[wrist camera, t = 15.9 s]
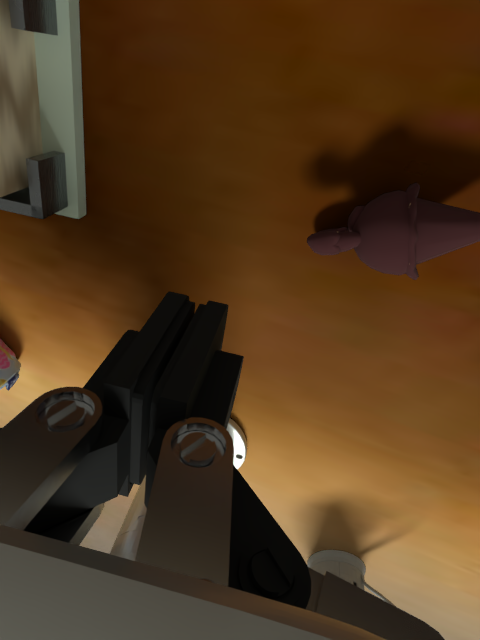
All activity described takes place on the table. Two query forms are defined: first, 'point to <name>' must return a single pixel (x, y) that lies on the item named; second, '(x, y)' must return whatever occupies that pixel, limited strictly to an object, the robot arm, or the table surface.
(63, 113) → the base board
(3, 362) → the pencil case
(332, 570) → the glass holder
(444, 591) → the table surface
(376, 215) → the icecream
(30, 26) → the end caps
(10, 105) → the beige long block
